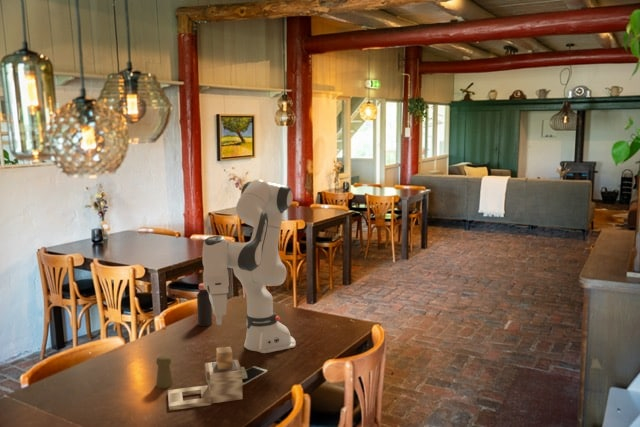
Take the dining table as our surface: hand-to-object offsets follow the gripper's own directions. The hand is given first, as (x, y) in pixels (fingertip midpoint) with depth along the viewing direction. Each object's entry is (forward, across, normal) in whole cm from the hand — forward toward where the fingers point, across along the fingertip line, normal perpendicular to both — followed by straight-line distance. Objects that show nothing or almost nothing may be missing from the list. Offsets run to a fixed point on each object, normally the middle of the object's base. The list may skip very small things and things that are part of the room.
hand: (217, 319), depth 197 cm
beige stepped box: (+26, +6, -6) cm, 27 cm away
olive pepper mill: (+26, -8, -19) cm, 34 cm away
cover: (+19, +6, +2) cm, 20 cm away
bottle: (+28, -68, +1) cm, 74 cm away
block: (+15, +6, +1) cm, 17 cm away
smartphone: (+27, -7, +12) cm, 31 cm away
